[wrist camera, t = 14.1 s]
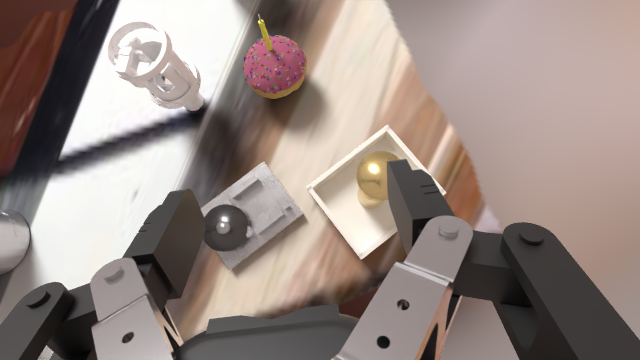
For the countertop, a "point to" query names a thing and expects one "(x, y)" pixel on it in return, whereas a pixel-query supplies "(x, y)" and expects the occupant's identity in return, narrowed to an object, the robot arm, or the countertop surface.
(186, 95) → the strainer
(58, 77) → the countertop surface
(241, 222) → the tensioner plate
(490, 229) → the countertop surface
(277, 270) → the countertop surface
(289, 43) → the cupcake
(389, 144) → the tray
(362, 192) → the gold mushroom peg
